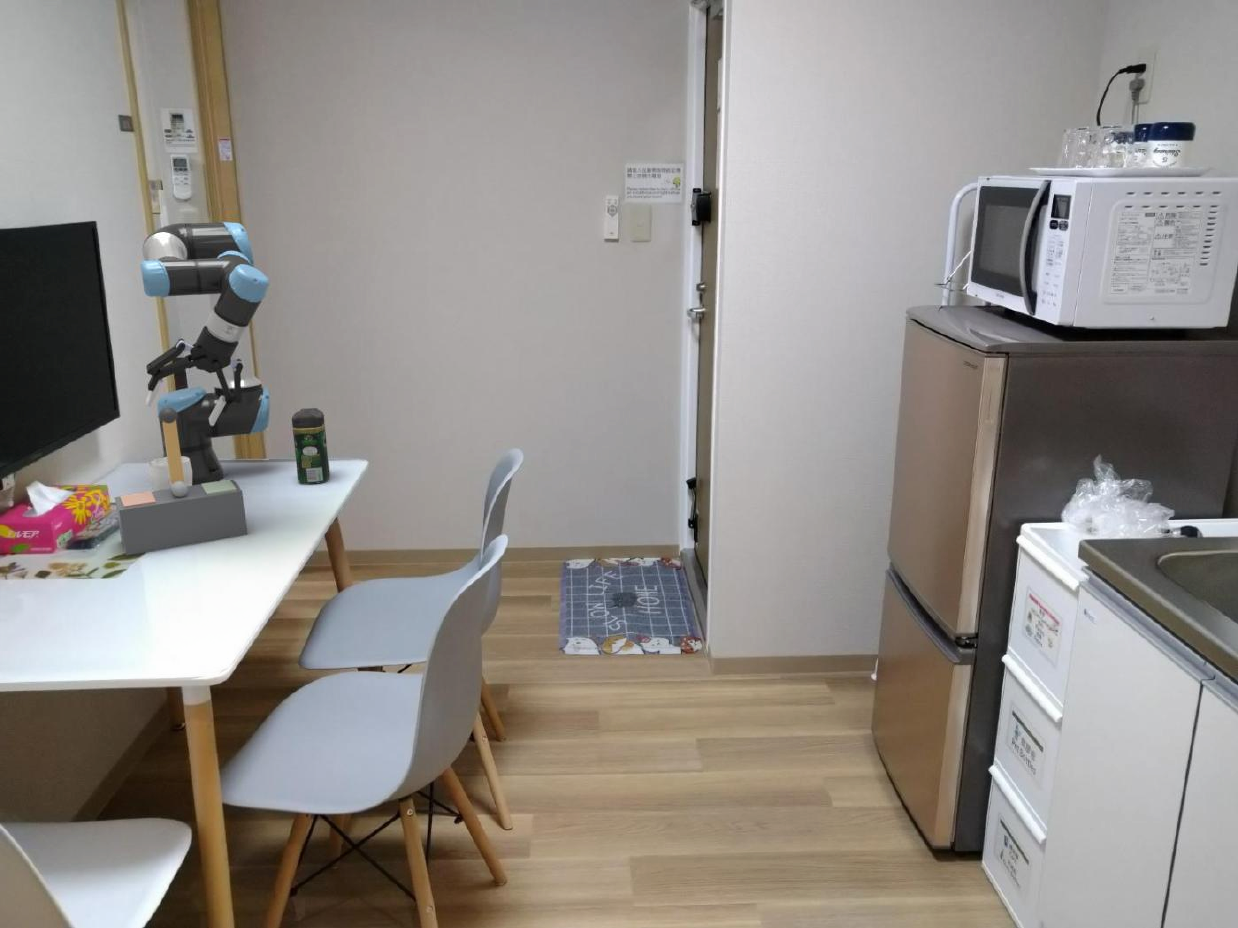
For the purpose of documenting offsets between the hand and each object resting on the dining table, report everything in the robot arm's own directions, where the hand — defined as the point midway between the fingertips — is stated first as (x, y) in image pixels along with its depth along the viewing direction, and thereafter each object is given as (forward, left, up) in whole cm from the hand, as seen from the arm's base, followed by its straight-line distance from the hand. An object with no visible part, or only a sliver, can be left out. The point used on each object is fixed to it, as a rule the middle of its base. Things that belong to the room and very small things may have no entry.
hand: (180, 413), depth 207 cm
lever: (+8, -3, -16) cm, 18 cm away
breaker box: (+8, -3, -26) cm, 27 cm away
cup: (-13, -2, -26) cm, 29 cm away
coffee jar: (-20, +32, -26) cm, 46 cm away
